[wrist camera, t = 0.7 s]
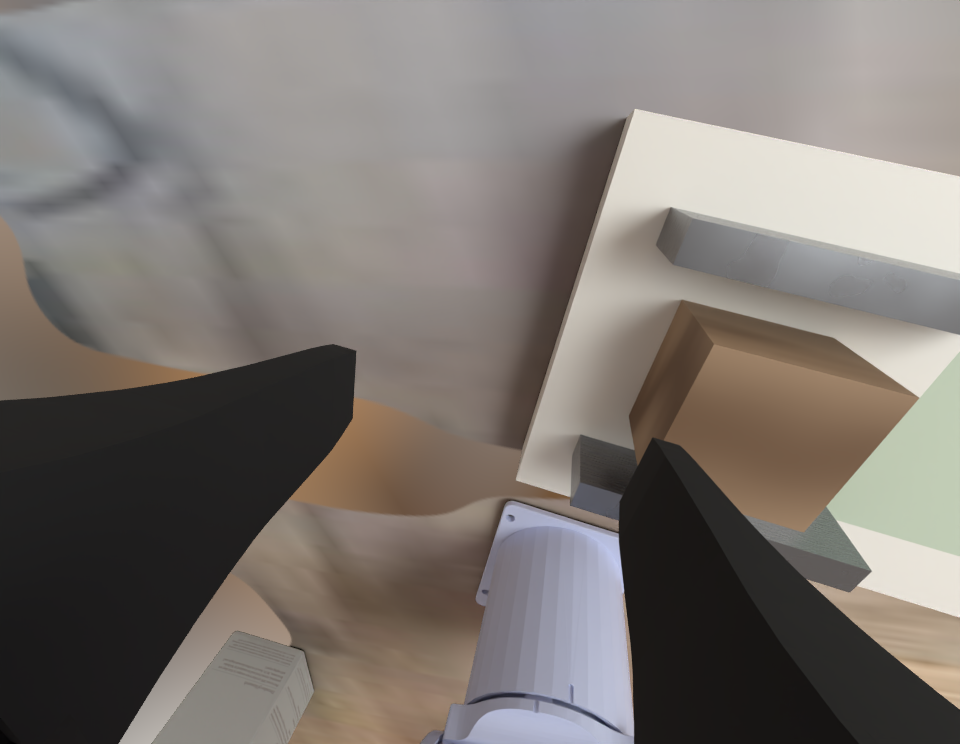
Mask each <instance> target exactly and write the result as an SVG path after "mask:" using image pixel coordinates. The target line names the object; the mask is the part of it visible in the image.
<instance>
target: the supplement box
mask: <svg viewBox="0 0 960 744" xmlns="http://www.w3.org/2000/svg"><path fill="white" fill-rule="evenodd" d="M313 693H314V689H313V685H312V682H311V678H310V674H309V670H308V666H307V662H306V658H305V654H304V652H303V651H301V650H299V649H296V648H293V647H290V646H286V645H283V644H280V643H277V642H273V641H270V640H267V639H264V638H260V637H257V636H254V635H250V634H247V633H244V632H240V631H235V632H234V633H233V634H232V635H231V636H230V638H229V639H228V640H227V642H226V643H225V644H224V646H223V647H222V648H221V650H220V651H219V653H218V654H217V655H216V657H215V658H214V659H213V661H212V662H211V663H210V665H209V666H208V667H207V669H206V670H205V671H204V673H203V674H202V676H201V677H200V678H199V680H198V681H197V682H196V684H195V685H194V687H193V688H192V689H191V691H190V692H189V693H188V695H187V696H186V697H185V699H184V700H183V701H182V703H181V704H180V706H179V707H178V708H177V710H176V711H175V712H174V714H173V715H172V716H171V718H170V719H169V721H168V722H167V723H166V725H165V726H164V727H163V729H162V730H161V731H160V733H159V734H158V735H157V737H156V738H155V740H154V741H153V742H152V743H151V744H288V742H289V740H290V738H291V736H292V734H293V732H294V730H295V728H296V726H297V724H298V722H299V720H300V718H301V716H302V714H303V712H304V710H305V709H306V707H307V705H308V703H309V701H310V699H311V697H312V695H313Z"/></svg>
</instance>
